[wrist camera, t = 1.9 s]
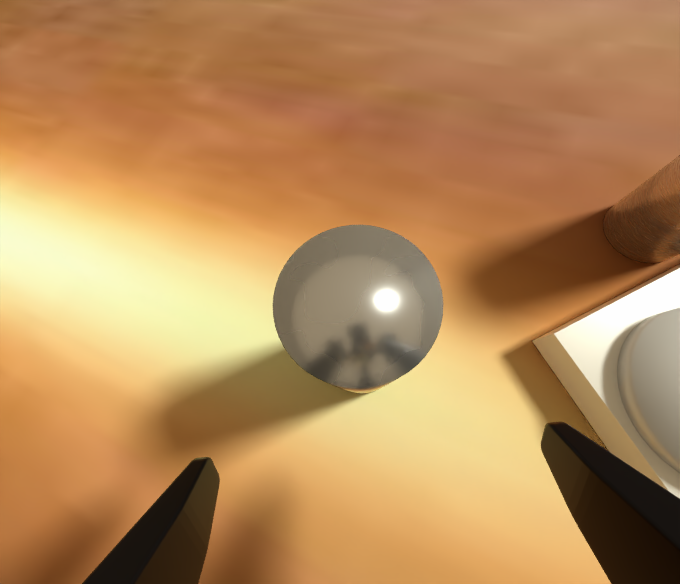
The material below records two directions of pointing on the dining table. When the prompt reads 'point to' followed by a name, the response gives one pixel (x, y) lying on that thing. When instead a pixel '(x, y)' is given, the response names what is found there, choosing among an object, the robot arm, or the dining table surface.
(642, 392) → the scale
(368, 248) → the shiny silver cylinder
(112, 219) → the dining table surface
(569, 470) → the robot arm
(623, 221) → the cylinder
